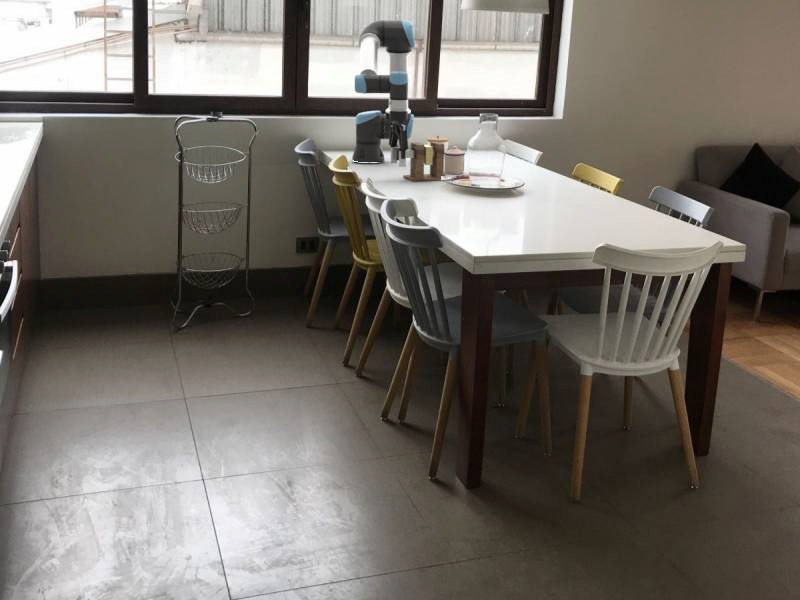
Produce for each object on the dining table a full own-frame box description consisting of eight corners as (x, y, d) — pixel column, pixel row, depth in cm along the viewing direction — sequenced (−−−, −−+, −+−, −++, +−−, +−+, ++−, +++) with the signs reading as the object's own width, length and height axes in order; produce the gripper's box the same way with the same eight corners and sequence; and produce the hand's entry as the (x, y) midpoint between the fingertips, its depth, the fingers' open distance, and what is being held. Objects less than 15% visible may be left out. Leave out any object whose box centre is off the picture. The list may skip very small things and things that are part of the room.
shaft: (393, 158, 398) (393, 148, 397) (437, 156, 404) (437, 146, 403) (396, 160, 394) (396, 149, 393) (441, 158, 401) (441, 147, 399)
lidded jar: (441, 156, 467) (441, 137, 464) (422, 154, 473) (423, 135, 470) (452, 154, 476) (452, 135, 473) (434, 152, 481) (434, 133, 479)
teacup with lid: (467, 173, 417) (468, 147, 414) (449, 175, 414) (449, 148, 410) (456, 169, 428) (456, 143, 424) (437, 170, 424) (438, 144, 421)
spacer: (419, 162, 404) (419, 144, 402) (426, 162, 405) (426, 144, 403) (425, 165, 398) (426, 147, 395) (432, 164, 399) (432, 146, 396)
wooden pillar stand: (403, 177, 406) (403, 142, 401) (439, 175, 411) (440, 140, 407) (413, 182, 395) (413, 145, 391) (450, 180, 401) (451, 144, 396)
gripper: (381, 107, 399) (381, 161, 406) (399, 113, 379) (398, 169, 386) (398, 107, 402) (397, 160, 408) (416, 112, 382) (416, 168, 388)
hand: (398, 164), depth 397 cm, fingers open, 9 cm apart
